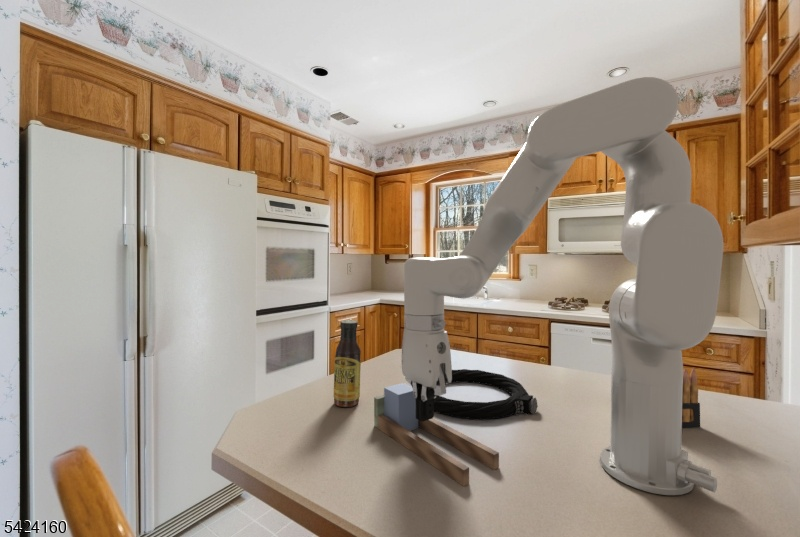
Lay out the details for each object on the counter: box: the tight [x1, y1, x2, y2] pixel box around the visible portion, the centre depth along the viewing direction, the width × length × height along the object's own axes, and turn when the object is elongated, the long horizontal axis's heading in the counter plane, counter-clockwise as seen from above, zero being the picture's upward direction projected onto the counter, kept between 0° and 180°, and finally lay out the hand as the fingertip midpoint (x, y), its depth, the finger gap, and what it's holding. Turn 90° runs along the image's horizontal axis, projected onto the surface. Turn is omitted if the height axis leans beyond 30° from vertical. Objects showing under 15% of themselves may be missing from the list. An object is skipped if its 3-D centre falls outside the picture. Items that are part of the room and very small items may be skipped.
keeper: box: [383, 382, 419, 432], centre depth 75 cm, size 5×5×8 cm
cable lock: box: [428, 368, 539, 420], centre depth 91 cm, size 28×4×30 cm
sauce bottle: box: [333, 319, 362, 408], centre depth 87 cm, size 6×6×20 cm
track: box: [373, 394, 500, 487], centre depth 68 cm, size 25×8×6 cm, turn 37°
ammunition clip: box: [682, 367, 701, 429], centre depth 75 cm, size 11×2×12 cm, turn 93°
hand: (424, 418), depth 70 cm, fingers closed
